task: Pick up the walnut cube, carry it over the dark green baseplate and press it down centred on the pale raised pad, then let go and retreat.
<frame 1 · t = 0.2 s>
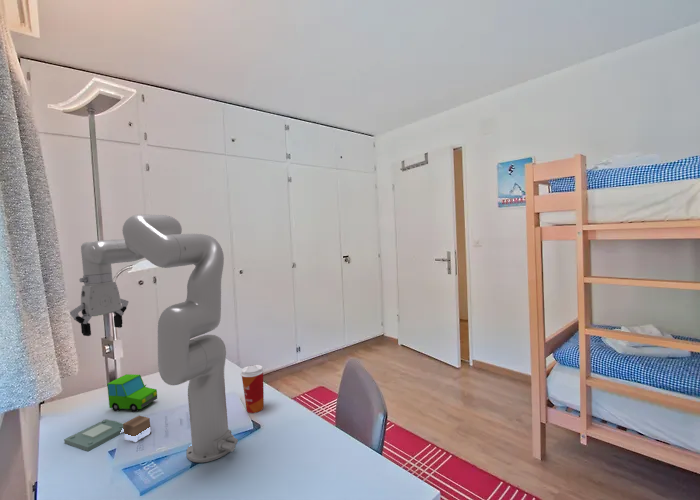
hand: (103, 331, 114), 31 cm above the table, fingers open, 9 cm apart
paper cup: (255, 409, 118), on the table
toy car: (134, 406, 126), on the table
walnut cube: (138, 436, 106), on the table
baseplate: (97, 435, 107), on the table
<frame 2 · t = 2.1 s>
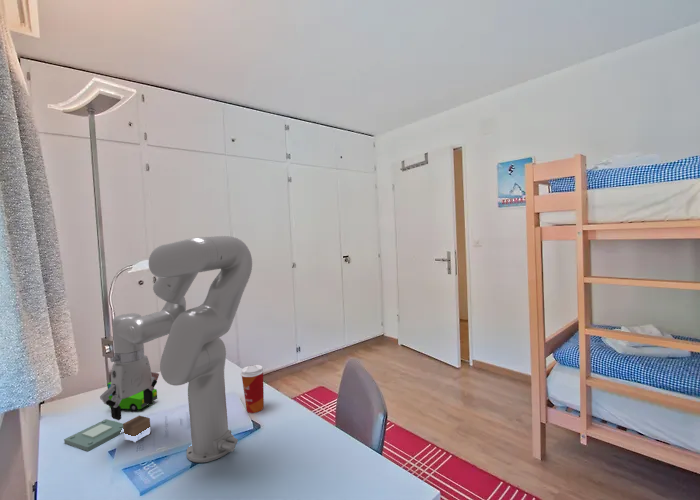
hand: (133, 410, 105), 8 cm above the table, fingers open, 9 cm apart
nothing on the table moved.
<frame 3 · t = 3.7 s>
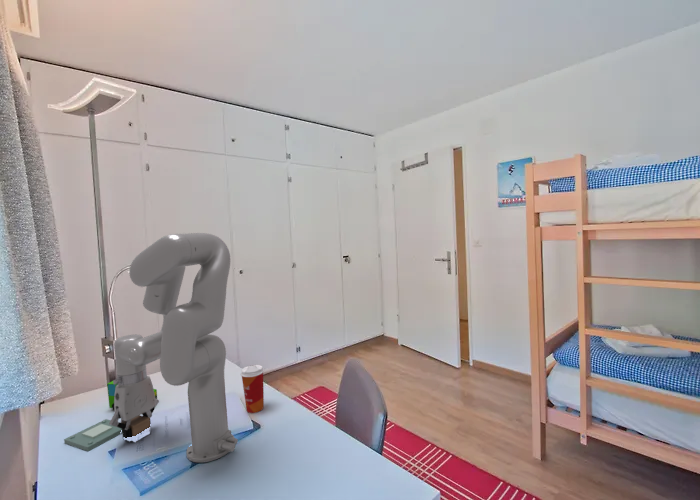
hand: (137, 435, 106), 0 cm above the table, fingers closed on walnut cube, 5 cm apart
walnut cube: (137, 436, 106), on the table, touching gripper
everything else where it was.
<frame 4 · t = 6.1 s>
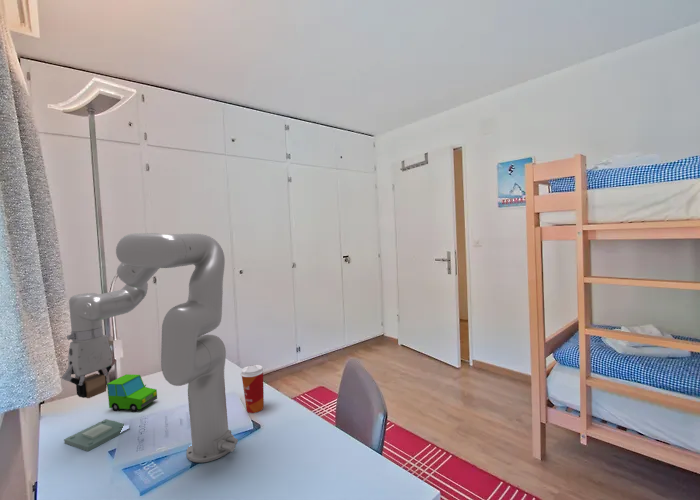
hand: (92, 392, 107), 14 cm above the table, fingers closed on walnut cube, 5 cm apart
walnut cube: (92, 393, 107), point 13 cm above the table, touching gripper
everything else where it was.
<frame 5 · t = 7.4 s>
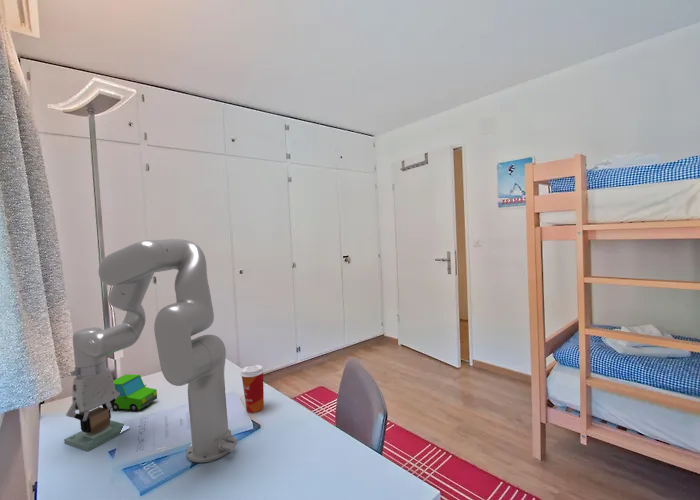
hand: (96, 426, 107), 3 cm above the table, fingers closed on walnut cube, 5 cm apart
walnut cube: (96, 427, 107), point 3 cm above the table, touching gripper
everything else where it was.
when the fingers open (3 cm above the table, at t = 8.5 s): walnut cube stays where it is, resting on baseplate.
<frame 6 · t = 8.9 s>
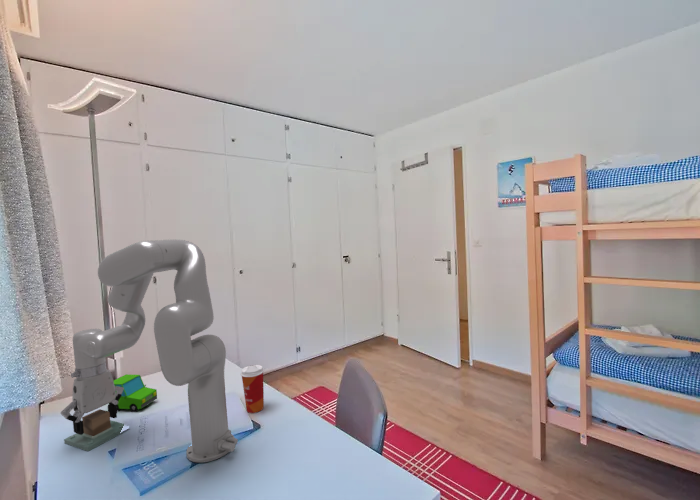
hand: (96, 425, 107), 3 cm above the table, fingers open, 9 cm apart
walnut cube: (97, 430, 107), point 2 cm above the table, touching baseplate
everything else where it was.
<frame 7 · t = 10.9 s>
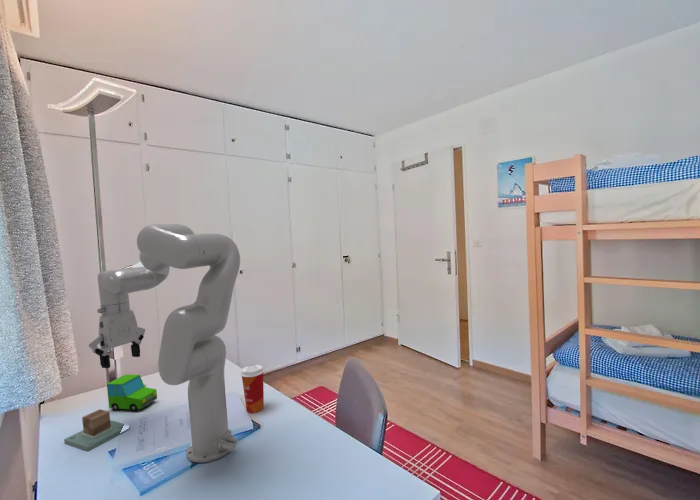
hand: (121, 362, 111), 21 cm above the table, fingers open, 9 cm apart
nothing on the table moved.
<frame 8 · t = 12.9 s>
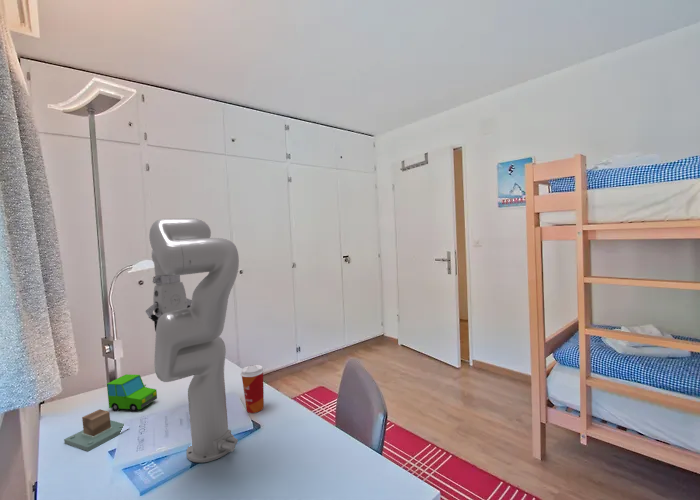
hand: (172, 328, 121), 28 cm above the table, fingers open, 9 cm apart
nothing on the table moved.
at the end: walnut cube 0.0 cm off-centre on the baseplate, point 1.8 cm above the baseplate's base; walnut cube tilted 0°; the gripper is holding nothing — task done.
